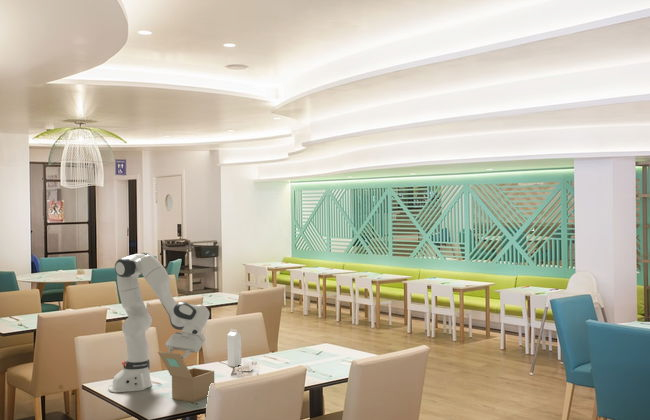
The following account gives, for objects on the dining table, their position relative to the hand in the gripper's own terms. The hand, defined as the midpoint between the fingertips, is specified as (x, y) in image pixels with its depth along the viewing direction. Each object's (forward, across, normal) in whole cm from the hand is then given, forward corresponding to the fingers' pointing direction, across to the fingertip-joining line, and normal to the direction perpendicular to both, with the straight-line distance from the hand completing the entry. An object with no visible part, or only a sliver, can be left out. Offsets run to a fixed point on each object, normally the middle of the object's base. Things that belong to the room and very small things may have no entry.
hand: (176, 357), depth 320 cm
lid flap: (+3, 0, +2) cm, 4 cm away
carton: (+7, 0, +24) cm, 25 cm away
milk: (-36, -23, +67) cm, 80 cm away
